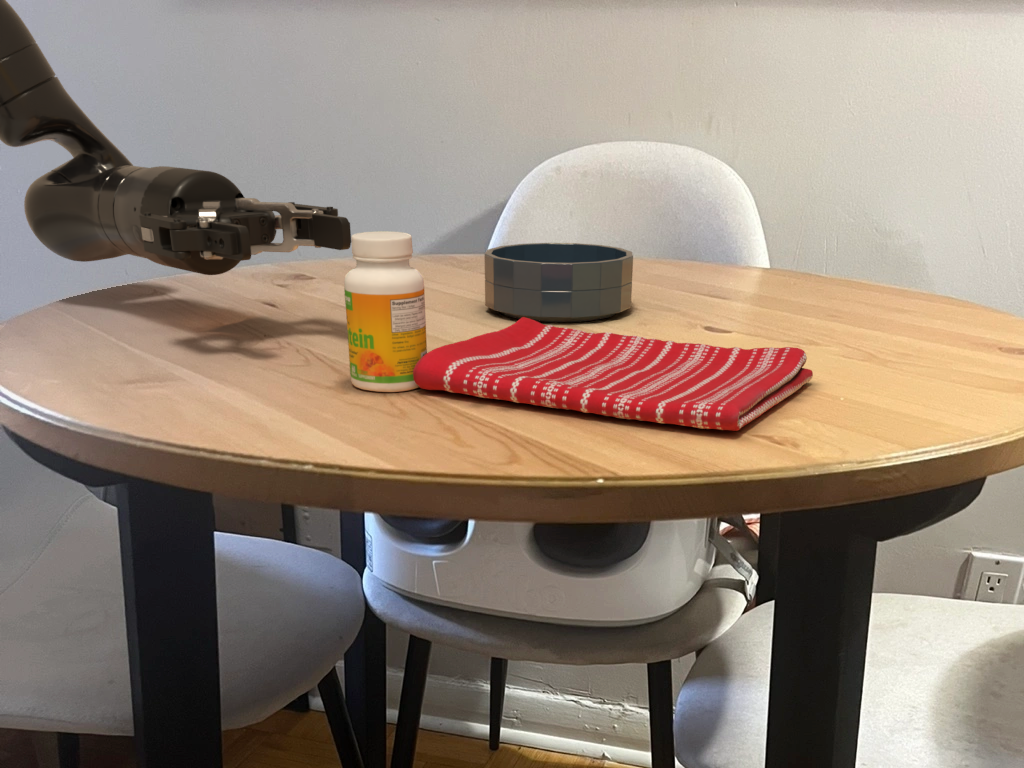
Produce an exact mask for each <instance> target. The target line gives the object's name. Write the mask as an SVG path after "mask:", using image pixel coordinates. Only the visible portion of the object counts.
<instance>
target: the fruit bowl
mask: <svg viewBox="0 0 1024 768" xmlns="http://www.w3.org/2000/svg"><path fill="white" fill-rule="evenodd" d="M633 265H634V254H633V251H631V250H628V249H625V248H622V247H617V246H610V245H603V244H593V243H581V242H580V243H577V242H532V243H516V244H507V245H500V246H496V247H492V248H487V249H486V251H485V253H484V305H485V306H486V307H488V308H489V309H491V310H492V311H495V312H498V313H500V314H502V315H503V316H506V317H508V318H513V319H518V320H519V319H521V318H522V317H526V318H529V319H532V320H535V321H537V322H540V323H541V322H542V323H543V322H544V323H581V322H592V321H599V320H603V319H607V318H611V317H614V316H616V314H619V313H622V312H624V311H626V310H629V309H631V308H632V296H633V295H632V293H633V292H632V291H633V290H632V289H633V274H634V273H633V270H634V269H633V268H634V266H633Z"/></svg>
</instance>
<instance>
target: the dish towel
mask: <svg viewBox="0 0 1024 768" xmlns="http://www.w3.org/2000/svg"><path fill="white" fill-rule="evenodd" d="M807 359H808V356H807V354H806V352H805V350H803V349H802V348H800V347H792V346H784V347H772V346H771V347H754V348H750V349H748V348H747V349H746V348H742V347H738V346H735V347H723V346H719V345H718V346H714V345H713V346H712V345H710V344H706V343H705V344H704V343H693V342H676V341H673V340H661V339H658V338H646V337H643V336H638V335H627V334H618V333H615V332H614V333H613V332H606V331H605V332H587V331H584V330H581V329H576V328H570V327H559V326H554V325H552V324H543V323H541V322H540V321H535V320H532V319H529V318H526V317H522V318H521V319H518V320H517V321H516V322H515V323H512V324H511V325H509V326H507V327H504V328H502V329H500V330H497V331H491V332H486V333H483V334H479V335H476V336H474V337H471V338H469V339H464V340H459V341H456V342H454V343H449V344H444V345H441V346H438V347H436V348H434V349H432V350H430V351H427V354H425V355H424V356H423V357H422V358H421V359H420V360H419V361H418V362H417V364H416V366H415V368H414V370H413V378H414V381H415V383H416V384H417V385H418V386H419V387H418V388H420V389H423V390H427V391H445V392H448V393H452V394H463V395H467V396H468V395H469V396H473V397H478V398H483V399H489V400H490V399H491V400H493V399H494V400H501V401H509V402H513V403H517V404H527V405H528V404H529V405H533V406H540V407H545V408H550V409H551V408H552V409H561V410H572V411H577V412H580V413H581V412H582V413H585V414H595V415H599V416H600V415H601V416H604V417H613V418H617V419H626V420H637V421H642V422H643V421H644V422H652V423H658V424H667V425H678V426H683V427H692V428H697V429H702V430H703V429H704V430H705V429H706V430H719V431H733V432H735V431H736V432H737V431H739V430H741V429H742V428H744V427H745V426H747V425H748V424H750V423H751V422H753V421H754V420H756V419H757V418H759V417H761V416H762V415H763V414H765V413H766V412H767V411H769V410H770V409H772V408H773V407H775V406H776V405H778V404H779V403H780V402H782V401H784V400H785V399H787V398H788V397H790V396H791V395H793V394H794V393H796V392H797V391H798V390H800V389H801V388H802V387H803V385H806V384H807V383H808V382H810V381H811V380H812V379H813V375H814V373H813V370H812V369H811V368H805V367H804V366H805V364H806V362H807Z"/></svg>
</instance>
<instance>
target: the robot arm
mask: <svg viewBox="0 0 1024 768" xmlns="http://www.w3.org/2000/svg"><path fill="white" fill-rule="evenodd" d="M0 141H1V142H2V143H3V144H4V145H6V146H8V147H10V148H20V147H21V148H22V147H26V146H29V145H32V144H36V143H40V142H44V141H51V142H54V143H56V144H57V145H59V146H61V147H62V148H64V149H65V151H67V152H68V153H69V154H70V155H71V156H72V158H71V159H68V160H67V161H65V162H64V163H62V164H60V165H58V166H57V167H55V168H53V169H52V170H50V171H48V172H46V173H44V174H42V175H41V176H40V177H37V178H36V179H35V180H34V181H33V182H32V183H30V185H29V186H28V189H27V190H26V193H25V196H24V205H23V206H24V209H23V210H24V214H25V218H26V221H27V223H28V226H29V228H30V229H31V231H32V233H33V235H34V236H35V237H36V238H37V240H38V241H39V242H40V243H41V244H42V245H43V246H44V247H46V248H47V249H48V250H49V251H51V252H52V253H54V254H56V255H58V256H60V257H61V258H63V259H67V260H69V261H73V262H81V263H83V262H84V263H85V262H86V263H87V262H96V261H102V260H108V259H109V260H110V259H115V258H118V257H119V258H120V257H123V256H126V255H127V256H128V255H130V256H132V257H137V258H141V259H142V258H143V259H148V260H149V261H151V262H153V263H155V264H158V265H161V266H164V267H168V268H173V269H177V270H182V271H186V272H190V273H191V272H192V273H195V274H200V275H206V276H218V275H222V274H225V273H227V272H230V271H232V269H234V268H235V267H236V266H237V265H238V264H240V262H242V261H250V260H251V259H252V256H255V255H258V254H261V253H263V252H265V253H291V252H294V251H296V250H297V249H298V248H299V247H314V248H316V249H320V248H325V249H332V250H337V251H343V250H344V251H345V250H349V249H350V248H351V246H352V240H351V237H352V231H351V222H350V221H349V219H348V218H347V217H344V216H339V209H338V208H335V207H334V206H317V205H309V204H302V203H301V204H300V203H296V202H295V201H289V202H282V201H281V202H278V201H276V202H275V201H260V200H259V199H258V198H255V197H245V196H244V195H243V193H242V191H241V190H240V189H239V187H238V186H237V185H236V184H235V183H233V181H231V179H229V178H228V177H226V176H225V175H222V174H221V173H218V172H215V171H212V170H211V171H209V170H204V169H203V170H201V169H193V168H185V167H177V166H169V165H168V166H167V165H166V166H164V165H160V166H159V165H158V166H151V167H145V166H137V165H134V164H133V163H132V162H131V161H130V159H128V157H127V156H126V155H125V154H124V153H123V152H122V151H121V150H120V149H119V148H118V147H117V146H116V145H115V144H114V143H113V142H112V141H111V140H110V139H109V137H107V136H106V135H105V134H104V133H103V132H102V131H101V130H100V128H98V127H97V126H96V124H95V123H94V122H93V121H92V120H91V119H90V117H89V116H88V115H87V114H86V113H85V112H84V111H83V110H82V108H81V107H80V106H79V105H78V104H77V103H76V102H75V100H74V99H73V98H72V97H71V95H70V94H69V93H68V92H67V90H66V88H65V87H64V85H63V84H62V83H61V81H60V79H59V77H58V76H57V75H56V73H55V71H54V70H53V67H52V66H51V63H49V61H48V59H47V57H46V56H45V54H44V53H43V51H42V49H41V48H40V46H39V44H38V43H37V41H36V39H35V38H34V36H33V35H32V33H31V31H30V30H29V28H28V27H27V25H26V23H24V21H23V19H22V17H20V15H19V14H18V12H16V10H15V9H14V8H13V7H12V5H11V4H10V3H9V2H8V1H7V0H0ZM274 212H276V213H278V214H277V215H276V214H275V213H274ZM277 230H282V242H274V240H275V238H276V235H277Z"/></svg>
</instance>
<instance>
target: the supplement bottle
mask: <svg viewBox="0 0 1024 768" xmlns="http://www.w3.org/2000/svg"><path fill="white" fill-rule="evenodd" d="M413 253H414V249H413V237H412V234H410V233H407V232H403V231H390V230H389V231H384V230H382V231H378V230H377V231H364V232H363V231H362V232H357V233H354V234H351V254H352V259H354V260H355V263H356V266H355V267H354V268H352V269H350V270H349V271H348V272H347V273H346V274H345V276H344V279H343V287H344V288H343V290H344V291H343V292H344V301H345V302H344V303H345V304H344V305H345V312H346V314H345V315H346V316H345V317H346V330H347V345H348V347H347V348H348V359H349V361H348V362H349V374H350V375H349V376H350V382H351V384H352V386H354V387H355V388H357V389H361V390H363V391H371V392H377V393H378V392H380V393H398V392H399V393H401V392H407V391H412V390H415V389H419V388H420V387H419V386H418V385H417V384H416V383H415V381H414V378H413V370H414V368H415V366H416V364H417V362H418V361H419V360H420V359H421V358H422V357H423V356H424V355H425V354H427V353H428V346H427V345H428V343H427V321H426V320H427V319H426V296H425V293H426V292H425V281H424V277H423V275H422V274H421V272H420V271H419V270H418V269H416V268H415V267H412V266H411V265H410V259H413Z"/></svg>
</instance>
